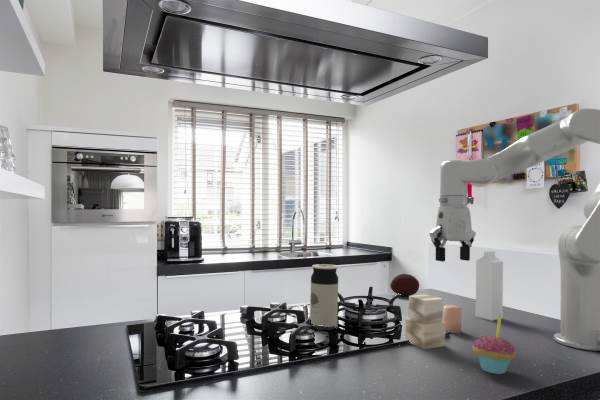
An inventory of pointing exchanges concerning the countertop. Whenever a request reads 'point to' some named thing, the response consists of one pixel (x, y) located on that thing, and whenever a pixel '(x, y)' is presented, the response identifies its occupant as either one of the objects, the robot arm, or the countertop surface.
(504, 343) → the cupcake
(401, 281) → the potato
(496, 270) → the milk
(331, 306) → the travel mug
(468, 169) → the robot arm
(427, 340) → the tower base
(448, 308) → the terracotta cylinder
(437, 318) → the tower top
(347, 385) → the countertop surface
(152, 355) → the countertop surface
